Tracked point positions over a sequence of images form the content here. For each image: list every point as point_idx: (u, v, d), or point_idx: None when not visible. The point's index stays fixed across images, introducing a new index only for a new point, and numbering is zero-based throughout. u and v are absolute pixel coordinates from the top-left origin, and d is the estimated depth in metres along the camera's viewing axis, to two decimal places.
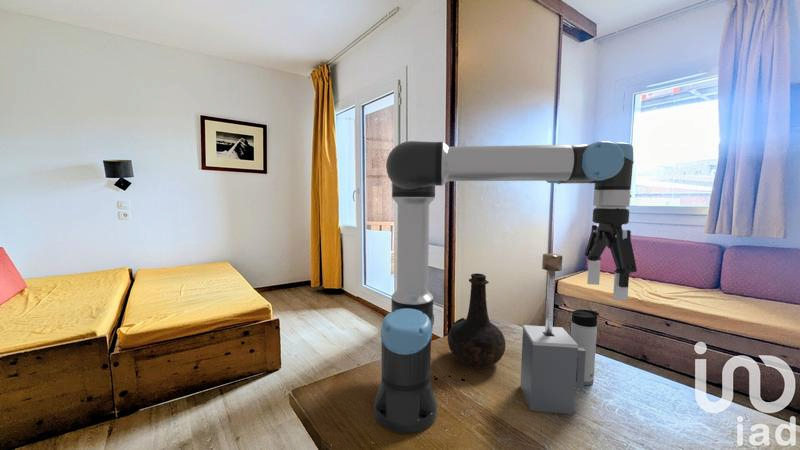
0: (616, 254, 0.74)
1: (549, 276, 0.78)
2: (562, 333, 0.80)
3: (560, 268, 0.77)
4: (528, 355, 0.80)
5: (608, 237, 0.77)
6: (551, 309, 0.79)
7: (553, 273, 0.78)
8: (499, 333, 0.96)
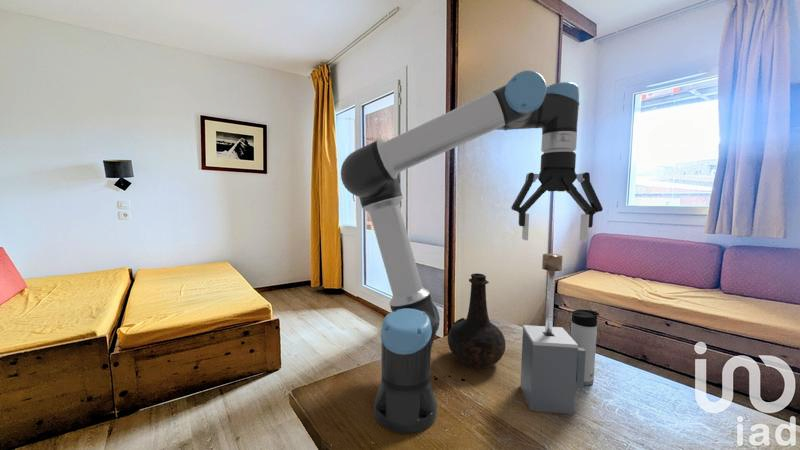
0: (530, 197, 0.79)
1: (549, 276, 0.78)
2: (562, 333, 0.80)
3: (560, 268, 0.77)
4: (528, 355, 0.80)
5: (543, 182, 0.78)
6: (551, 309, 0.79)
7: (553, 273, 0.78)
8: (499, 333, 0.96)
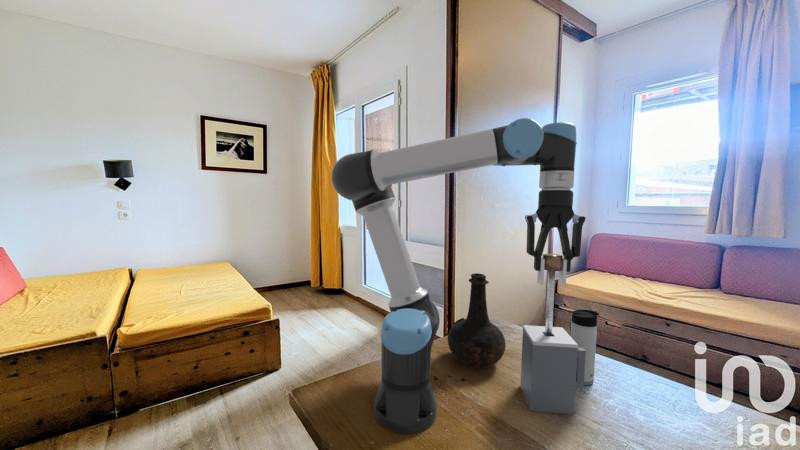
0: (538, 239, 0.79)
1: (549, 276, 0.78)
2: (562, 333, 0.80)
3: (560, 268, 0.77)
4: (528, 355, 0.80)
5: None
6: (551, 309, 0.79)
7: (553, 273, 0.78)
8: (499, 333, 0.96)
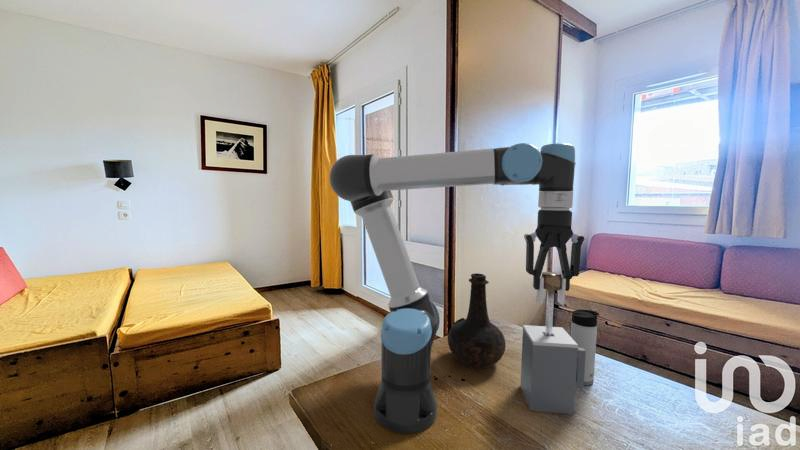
0: (537, 257, 0.80)
1: (548, 295, 0.79)
2: (562, 333, 0.80)
3: (559, 287, 0.77)
4: (528, 355, 0.80)
5: None
6: (550, 327, 0.79)
7: (552, 292, 0.78)
8: (499, 333, 0.96)
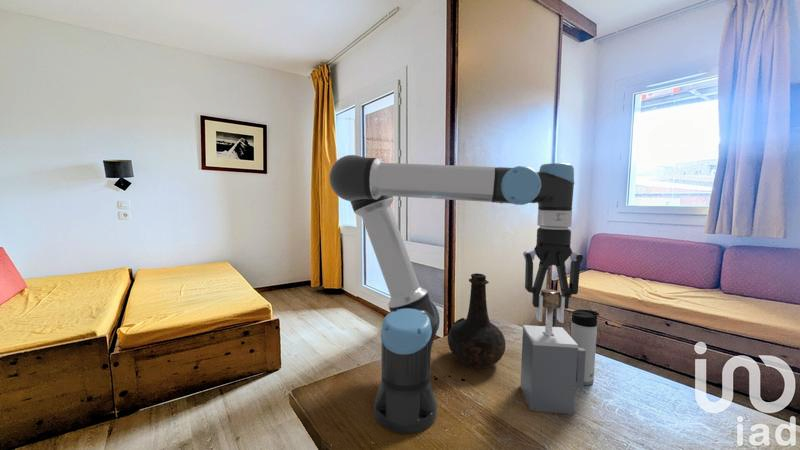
0: (536, 275, 0.80)
1: (547, 312, 0.79)
2: (562, 333, 0.80)
3: (558, 305, 0.77)
4: (528, 355, 0.80)
5: None
6: None
7: (551, 310, 0.79)
8: (499, 333, 0.96)
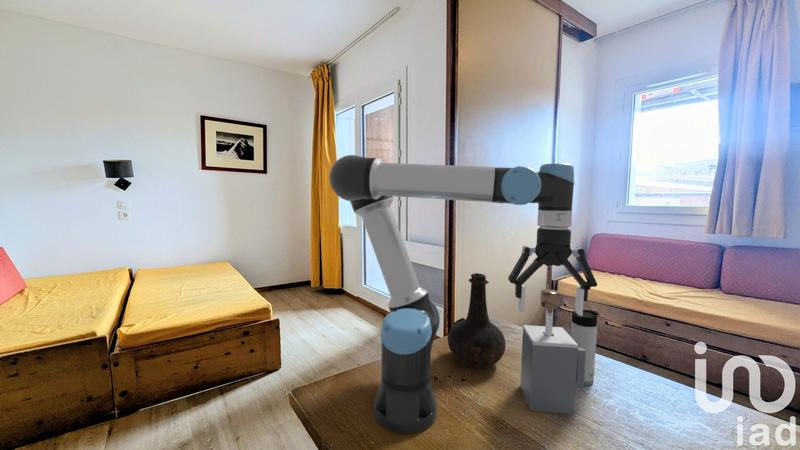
0: (526, 269, 0.80)
1: (547, 313, 0.79)
2: (562, 333, 0.80)
3: (558, 305, 0.77)
4: (528, 355, 0.80)
5: None
6: None
7: (551, 310, 0.79)
8: (499, 333, 0.96)
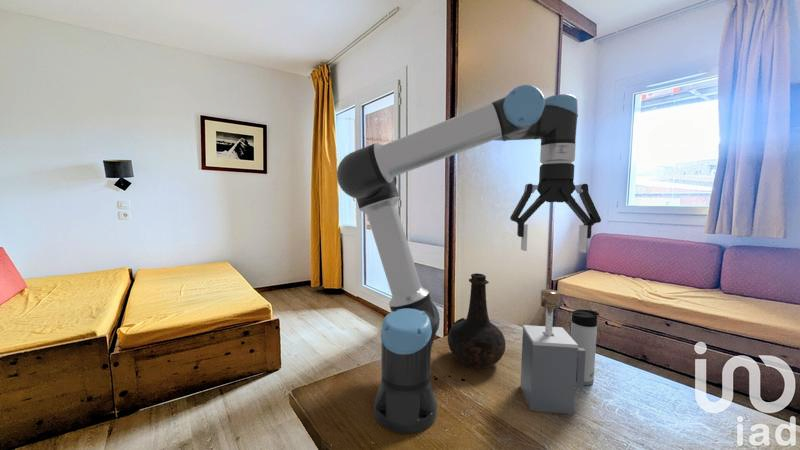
0: (529, 207, 0.79)
1: (547, 313, 0.79)
2: (562, 333, 0.80)
3: (558, 305, 0.77)
4: (528, 355, 0.80)
5: None
6: None
7: (551, 310, 0.79)
8: (499, 333, 0.96)
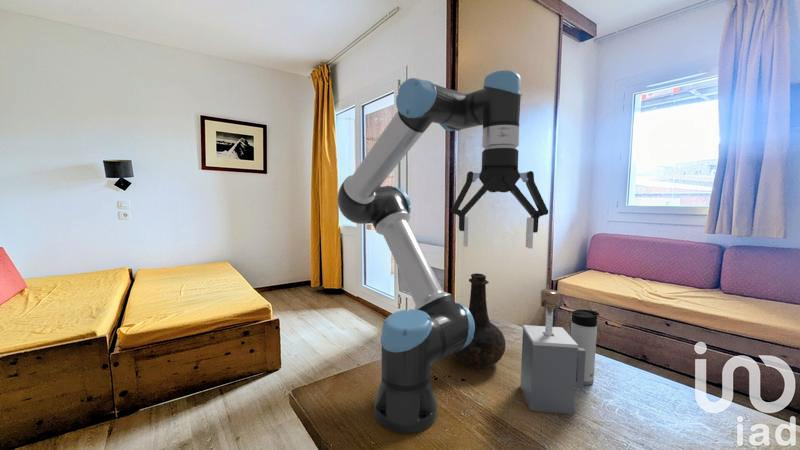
0: None
1: (547, 313, 0.79)
2: (562, 333, 0.80)
3: (558, 305, 0.77)
4: (528, 355, 0.80)
5: None
6: None
7: (551, 310, 0.79)
8: (499, 333, 0.96)
